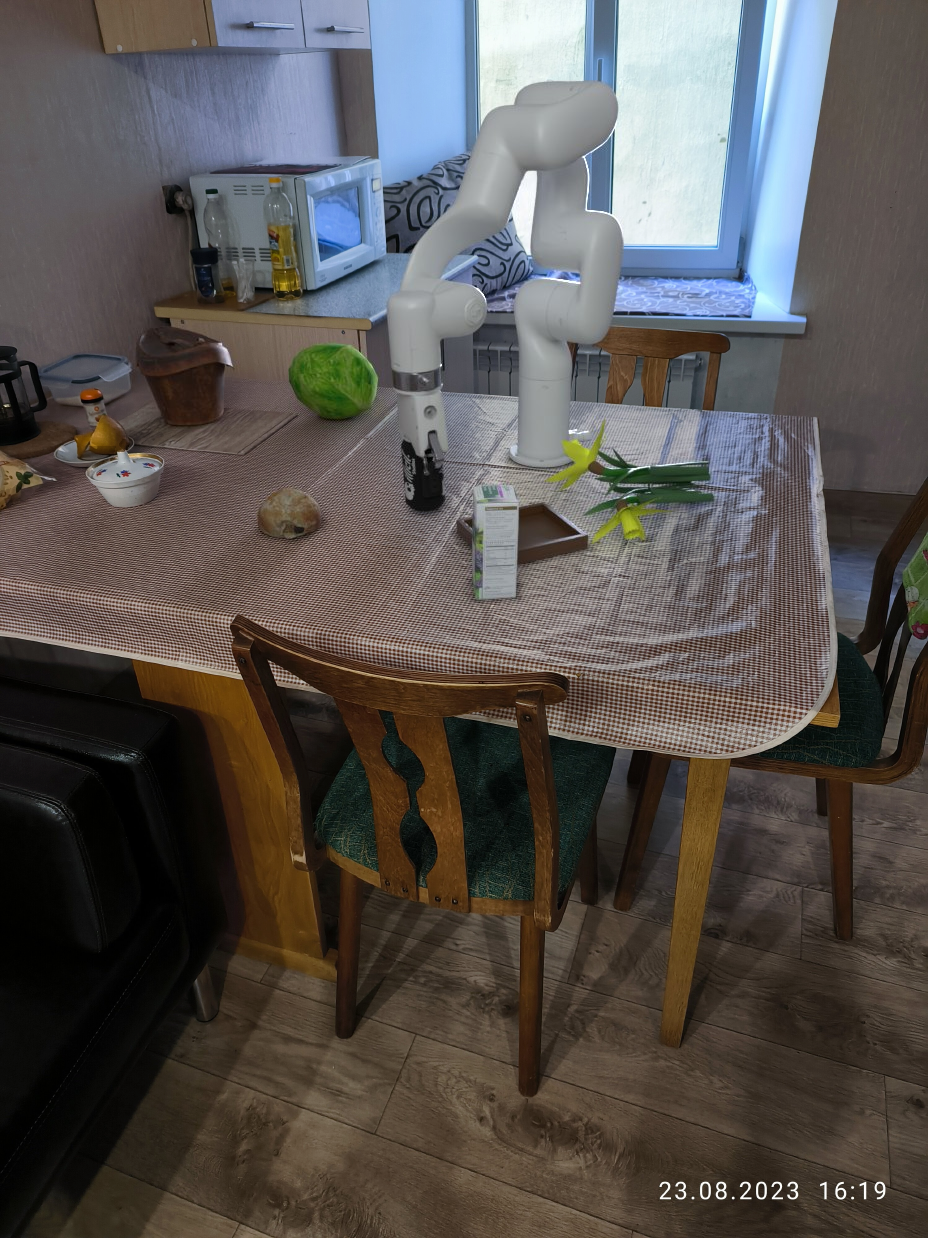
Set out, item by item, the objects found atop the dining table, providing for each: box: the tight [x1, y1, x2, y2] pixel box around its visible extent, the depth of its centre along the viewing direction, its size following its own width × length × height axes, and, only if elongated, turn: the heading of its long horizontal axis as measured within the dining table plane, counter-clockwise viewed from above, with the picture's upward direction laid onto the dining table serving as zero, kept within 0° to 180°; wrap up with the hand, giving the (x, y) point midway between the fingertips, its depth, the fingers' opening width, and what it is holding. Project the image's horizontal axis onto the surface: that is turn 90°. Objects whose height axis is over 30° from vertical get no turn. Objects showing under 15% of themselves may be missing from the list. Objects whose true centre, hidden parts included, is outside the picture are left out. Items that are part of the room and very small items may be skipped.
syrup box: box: [471, 484, 520, 601], centre depth 116 cm, size 6×6×14 cm
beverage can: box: [400, 435, 446, 513], centre depth 138 cm, size 7×7×12 cm
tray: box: [456, 501, 589, 566], centre depth 132 cm, size 16×14×2 cm
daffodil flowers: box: [544, 419, 715, 545], centre depth 132 cm, size 17×15×35 cm
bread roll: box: [256, 488, 323, 540], centre depth 137 cm, size 10×10×8 cm
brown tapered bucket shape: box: [134, 325, 236, 427], centre depth 181 cm, size 18×20×18 cm
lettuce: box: [288, 342, 379, 420], centre depth 181 cm, size 17×20×17 cm
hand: (424, 486), depth 140 cm, fingers closed on beverage can, 6 cm apart
